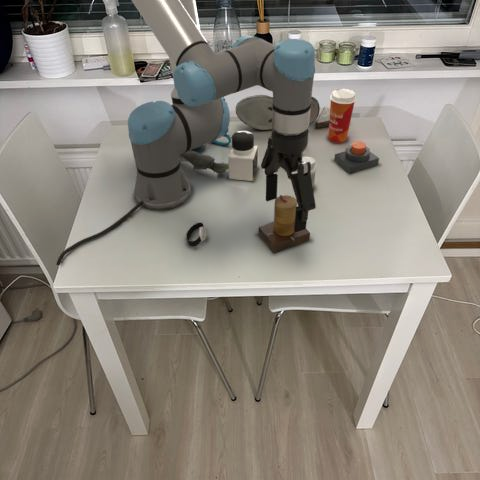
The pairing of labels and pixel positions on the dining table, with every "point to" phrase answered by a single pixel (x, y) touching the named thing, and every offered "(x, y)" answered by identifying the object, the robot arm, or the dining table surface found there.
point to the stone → (323, 118)
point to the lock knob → (284, 215)
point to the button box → (356, 160)
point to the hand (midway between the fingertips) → (285, 214)
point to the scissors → (222, 142)
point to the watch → (201, 234)
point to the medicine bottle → (243, 156)
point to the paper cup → (340, 114)
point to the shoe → (265, 111)
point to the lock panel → (281, 238)
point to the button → (358, 148)
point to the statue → (204, 162)
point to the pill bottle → (313, 169)
